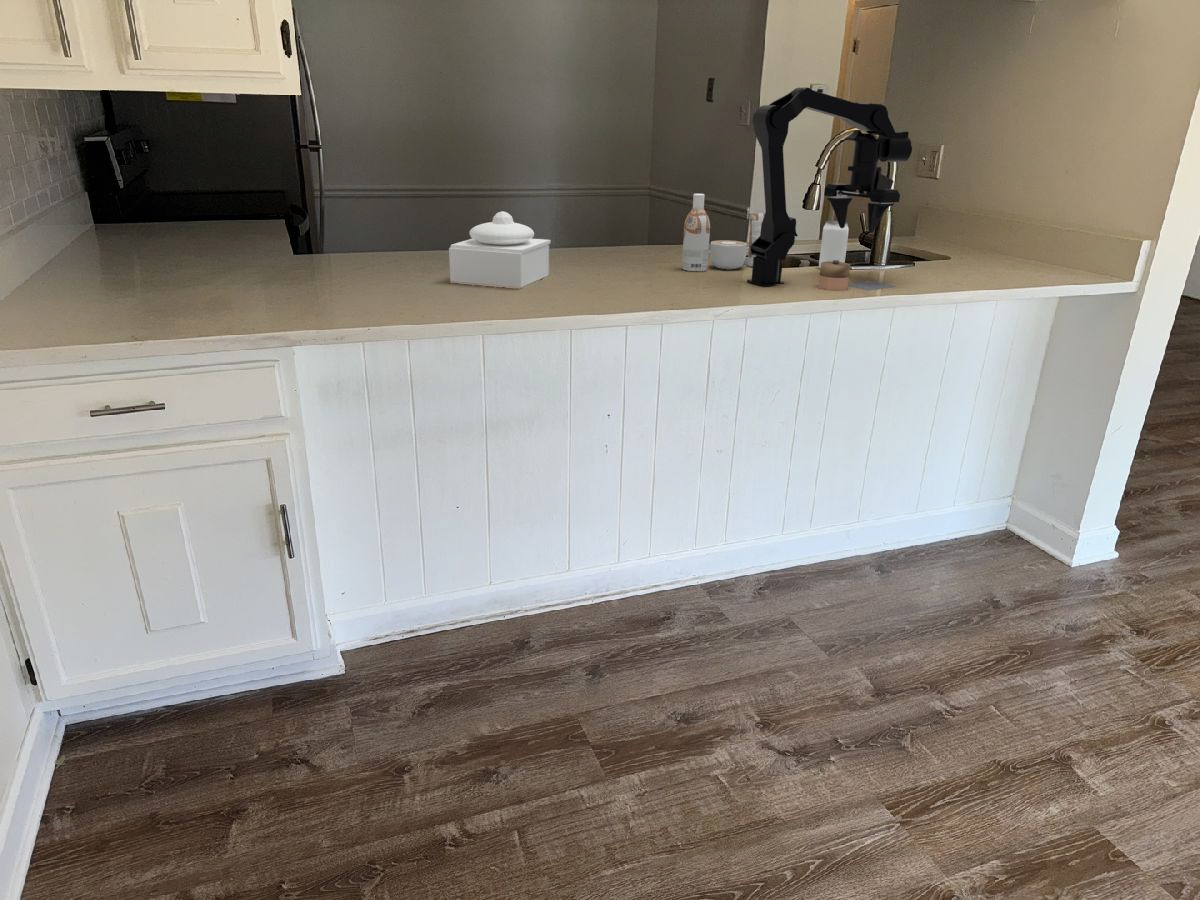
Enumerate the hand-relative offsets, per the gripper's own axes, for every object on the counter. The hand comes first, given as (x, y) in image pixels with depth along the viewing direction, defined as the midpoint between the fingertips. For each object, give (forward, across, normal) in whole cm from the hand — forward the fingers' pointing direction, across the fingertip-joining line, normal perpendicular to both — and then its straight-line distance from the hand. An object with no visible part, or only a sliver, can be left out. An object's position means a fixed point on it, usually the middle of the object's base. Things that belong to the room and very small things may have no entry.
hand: (856, 230), depth 204 cm
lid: (+9, -6, +12) cm, 16 cm away
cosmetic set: (+12, +27, +17) cm, 34 cm away
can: (+12, +14, -8) cm, 20 cm away
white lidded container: (+12, +37, +76) cm, 86 cm away
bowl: (+12, -6, +12) cm, 18 cm away
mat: (+12, -8, +2) cm, 14 cm away
